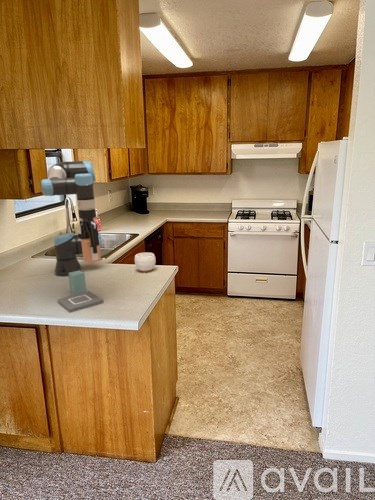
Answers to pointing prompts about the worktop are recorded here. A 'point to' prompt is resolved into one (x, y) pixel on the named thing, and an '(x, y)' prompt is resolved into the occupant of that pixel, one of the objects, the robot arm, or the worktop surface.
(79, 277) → the teal block
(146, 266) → the cup
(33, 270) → the worktop surface
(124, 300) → the worktop surface
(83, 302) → the base plate
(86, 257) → the terracotta block
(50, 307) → the worktop surface
